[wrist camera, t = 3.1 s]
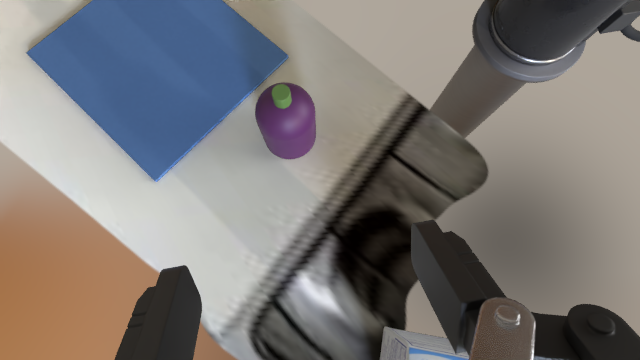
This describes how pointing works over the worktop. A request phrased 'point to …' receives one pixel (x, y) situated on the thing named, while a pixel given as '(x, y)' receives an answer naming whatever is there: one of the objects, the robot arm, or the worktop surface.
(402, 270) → the worktop surface
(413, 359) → the medicine box
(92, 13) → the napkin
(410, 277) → the worktop surface
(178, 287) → the robot arm
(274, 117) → the eggplant
